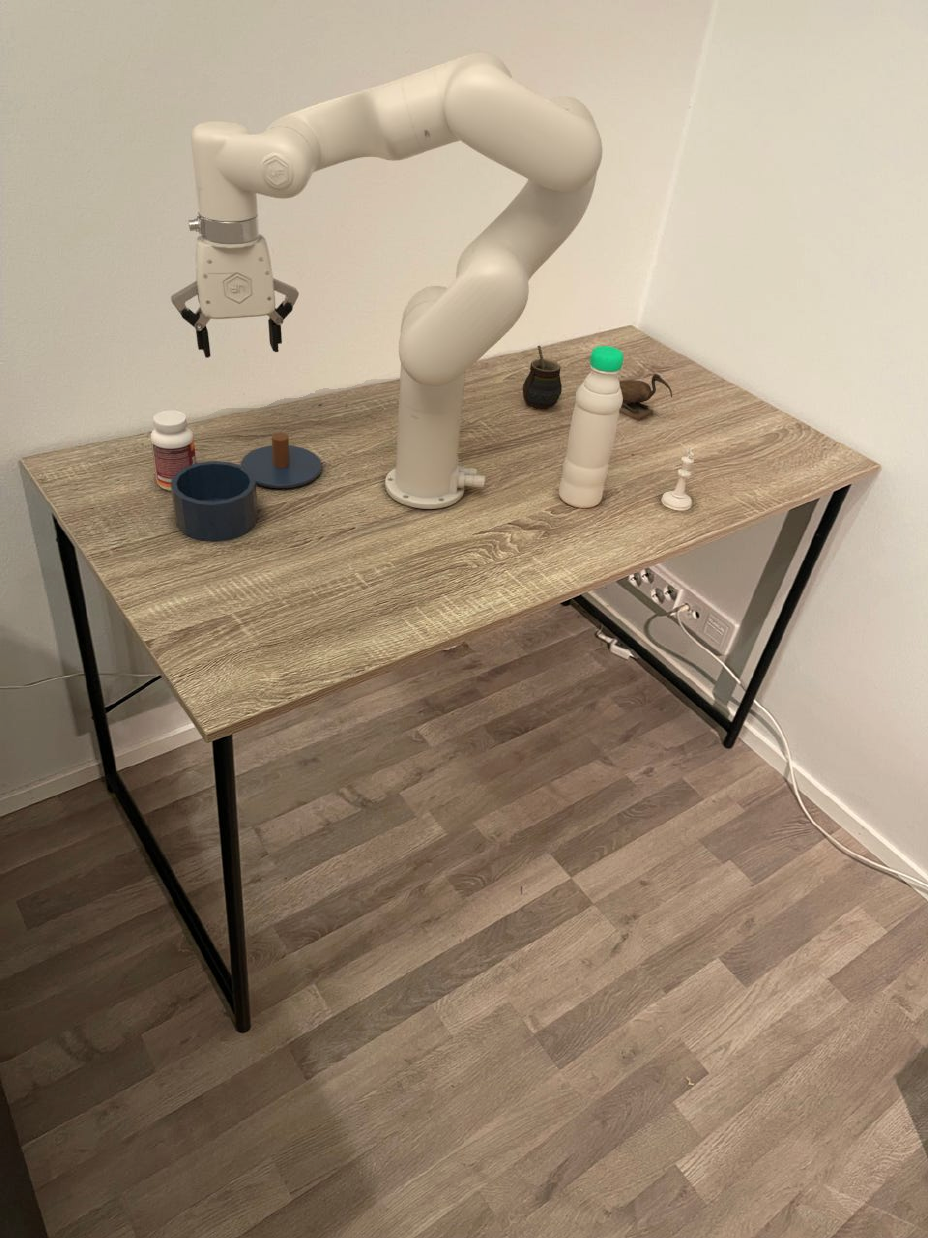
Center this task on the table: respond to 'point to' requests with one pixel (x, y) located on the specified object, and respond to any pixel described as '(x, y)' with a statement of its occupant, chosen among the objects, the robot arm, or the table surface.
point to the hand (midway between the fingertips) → (240, 350)
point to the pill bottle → (171, 446)
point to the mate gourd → (542, 384)
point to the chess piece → (680, 486)
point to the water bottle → (592, 430)
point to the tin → (214, 500)
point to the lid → (282, 464)
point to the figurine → (638, 397)
